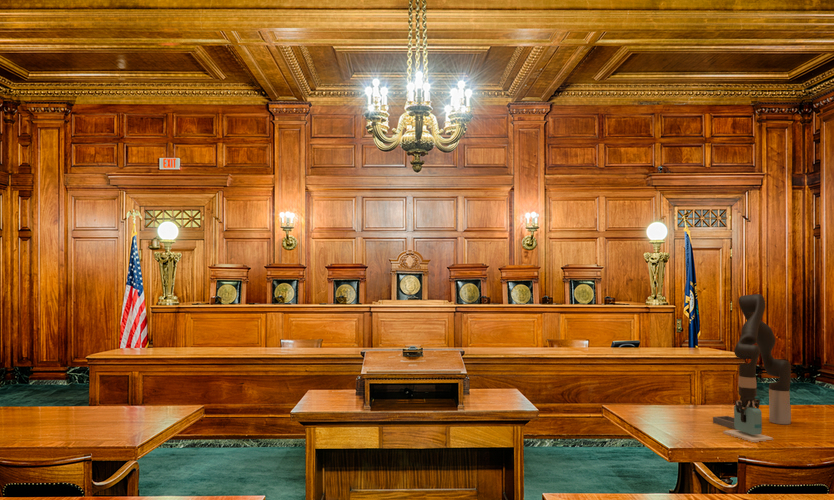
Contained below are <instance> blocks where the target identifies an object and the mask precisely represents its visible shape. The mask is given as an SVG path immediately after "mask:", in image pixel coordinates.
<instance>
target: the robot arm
mask: <svg viewBox="0 0 834 500" xmlns="http://www.w3.org/2000/svg"><path fill="white" fill-rule="evenodd" d="M738 305H739V309H740V310H741V312H742V314H743V316H744V318H745V320H746V321H745V322H744V324H743V325H742V327H741V331H740V332H741V333H740V338H739V340H738V341H737V342H736V345H735V346H734V351H733V352H734V353H733V354H734V355H735V356H736V358H738V359H742V360H743V359H744V360H750V362H747V363H739V365H738V386H737V387H738V396H739V399H738V400H735V401H734V403H735V405H736V410H737V412H738V413H740V414H741V422H744V423H746V410H747V408H748V407H755V408H758V409H760V405H761V404H760V403H761V400H760V399H757V398H756V397H757V395H758V394H757V390H758V389H757V372H756V371H757V364H758V360H759V357H761V360H762V364H763V367H764V370H765V372H766V374H768V375H769V376H771V377H777V378H779V380H778V381H775V382H771V383H769V385H768V404H769V405H768V408H769V409H768V411H769V413H768V414H769V416H768V417H769V419H768V421H769V423H773V424H777V425H790V424H791V423H792V406H791V404H790V402H791V401H790V399H791V398H790V395H791V394H790V387H791V379H792V378H791V375H792V366H791V363H790V362H789V360H785V359H778V358H774V357H773V355H772V350H773V349H774V347H775V344H776V337H775V333H774V332H773V329H772V328H771V327H770V326H769V325H768V324H767V323H765V322H764V321H762V319H763V317H764V316H763V315H764V314H765V313H764V312H765V309H766V300H765V298H764V296H763V295H762V294H761V293H755V294H754V293H753V294H745V295H741V296H739V298H738ZM735 405H734V406H735ZM742 406H743V407H745V408H743V407H742ZM739 409H740V410H739ZM743 409H744V412H743Z"/></svg>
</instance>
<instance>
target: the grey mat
mask: <svg viewBox="0 0 834 500" xmlns="http://www.w3.org/2000/svg"><path fill="white" fill-rule="evenodd" d="M722 432H723V434H724V435H727V436H730V435H731V437H733V436H734V438H736V437H738V438H737V439H740V438H742V439H741V440H743V439H744V440H743V441H746V440H748V441H747V442H749V441H751V442H750V443H752V442H754V443H760V442H759V441H763V442H767V441H766V440H772V441H774V437H772V436H768V435H764V434H762V433H761V434H757V435H751V434H748V433H745V432H742V431H739V430H736V429H730V430H723V431H722Z"/></svg>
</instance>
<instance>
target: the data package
mask: <svg viewBox="0 0 834 500" xmlns="http://www.w3.org/2000/svg"><path fill="white" fill-rule="evenodd" d="M742 407H743V406H742ZM743 408H745V407H743ZM739 410H740V409H739ZM743 412H744V409H743ZM762 415H763V414H762V410H761V409H760V408H759V409H758V408H756V407H748V408H747V410H746V423H744V422H741V414H740V413H738V412H737V410H736V405H734V407H733V417H734V427H735V429H734V430H736V429H737V430H739V431H742V432H745V433H748V434H751V435H757V434H762V432H763V426H762V425H763V421H762V420H763V419H762V418H763V416H762Z"/></svg>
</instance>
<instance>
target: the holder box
mask: <svg viewBox="0 0 834 500" xmlns="http://www.w3.org/2000/svg"><path fill="white" fill-rule="evenodd" d="M712 424H716V425H719V426H722V427H726V428H729V429H731V430H737V429H735V427H734V416H729V415H722V416H712Z"/></svg>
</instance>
